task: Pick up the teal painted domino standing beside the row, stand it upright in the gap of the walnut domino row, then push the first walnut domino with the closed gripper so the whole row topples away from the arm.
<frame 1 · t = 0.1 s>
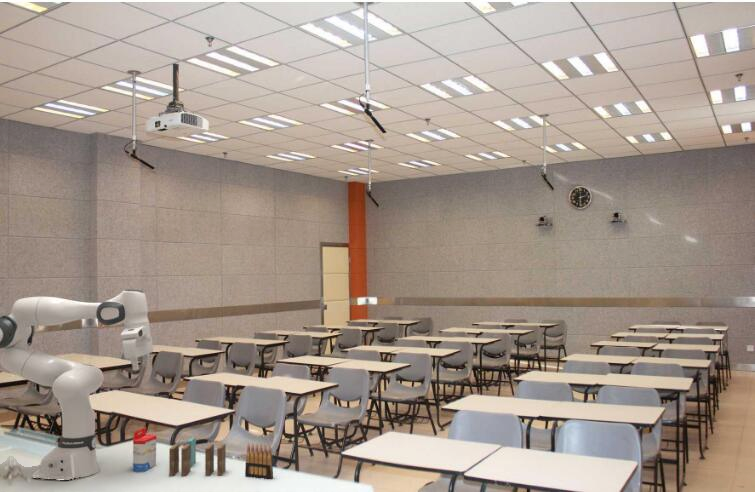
hand: (140, 368, 238), 39 cm above the table, tool pointing down, fingers open, 8 cm apart
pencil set: (259, 477, 229), on the table
ink box: (144, 468, 241), on the table
domino 2: (186, 473, 234), on the table
domino 5: (221, 473, 234), on the table
domino 1: (174, 473, 234), on the table
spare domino: (191, 465, 244), on the table
domino 4: (209, 473, 234), on the table
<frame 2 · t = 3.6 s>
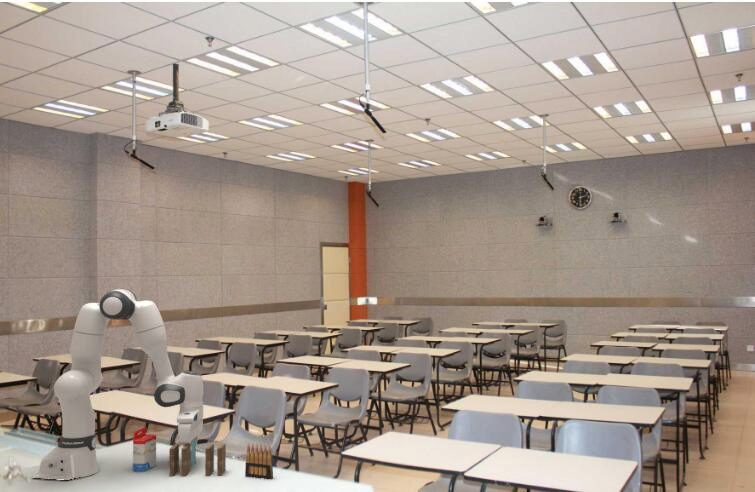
hand: (191, 449, 245), 6 cm above the table, tool pointing down, fingers closed on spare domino, 6 cm apart
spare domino: (191, 465, 244), on the table, touching gripper
everything else where it was.
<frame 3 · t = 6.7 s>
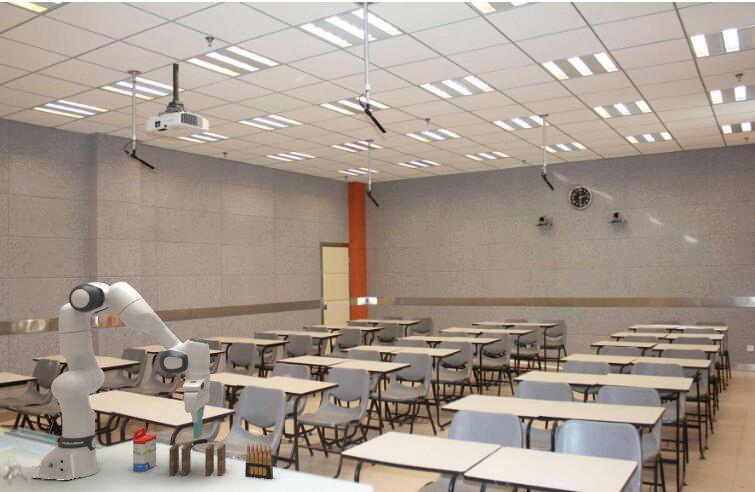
hand: (197, 419, 235), 20 cm above the table, tool pointing down, fingers closed on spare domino, 6 cm apart
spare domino: (198, 436, 235), point 14 cm above the table, touching gripper
everything else where it was.
when the fingers open (7 cm above the table, at t = 9.9 s): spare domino stays where it is, on the table.
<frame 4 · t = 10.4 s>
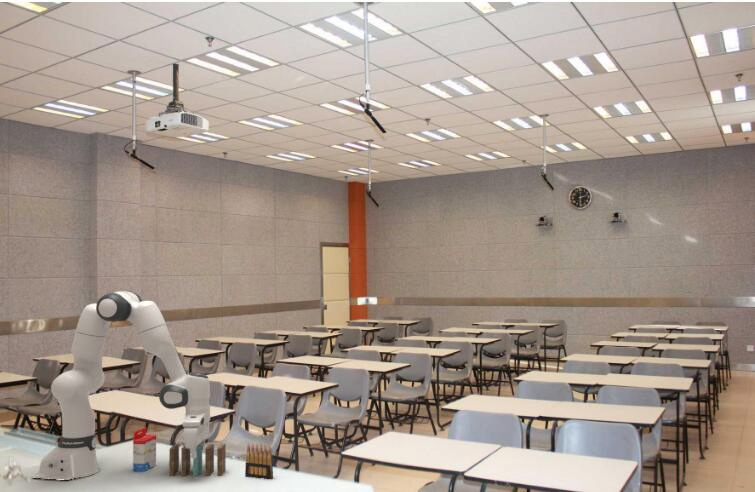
hand: (197, 454, 235), 7 cm above the table, tool pointing down, fingers open, 8 cm apart
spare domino: (197, 473, 234), on the table
everything else where it was.
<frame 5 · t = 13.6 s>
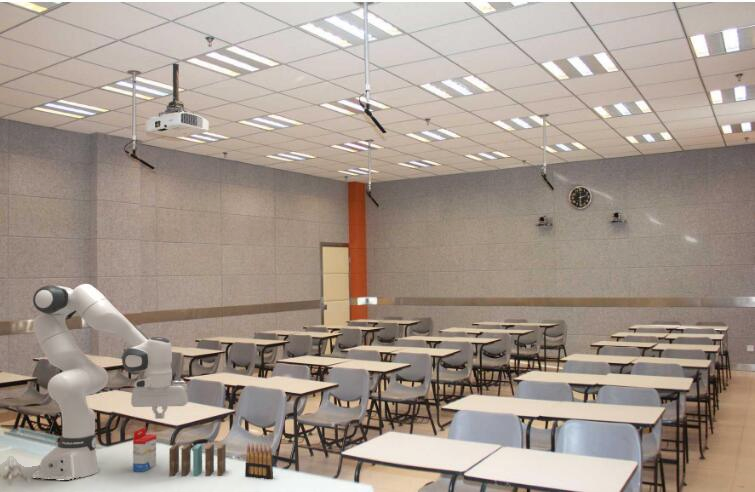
hand: (159, 418, 235), 20 cm above the table, tool pointing down, fingers closed
nothing on the table moved.
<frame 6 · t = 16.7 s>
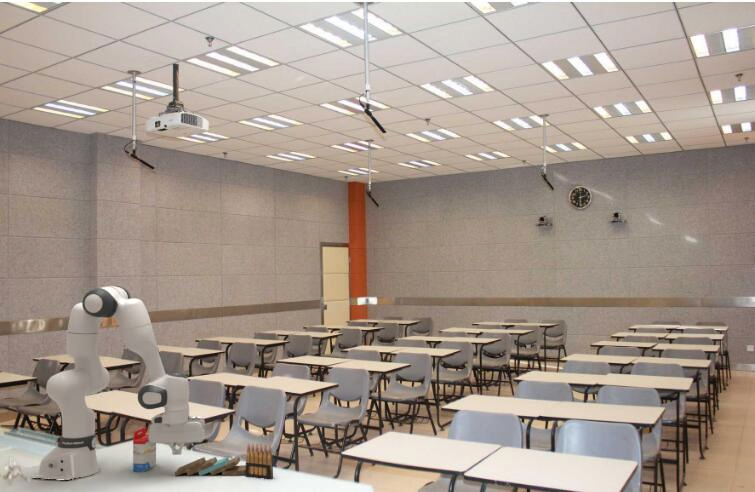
hand: (176, 454, 235), 7 cm above the table, tool pointing down, fingers closed
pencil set: (259, 477, 229), on the table, touching domino 5
domino 2: (189, 471, 234), point 1 cm above the table, tilted 68°, touching domino 1, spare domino
domino 5: (224, 471, 234), point 1 cm above the table, tilted 87°, touching domino 4, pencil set
domino 1: (178, 471, 234), point 1 cm above the table, tilted 68°, touching domino 2
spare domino: (201, 471, 234), point 1 cm above the table, tilted 68°, touching domino 2, domino 4
domino 4: (212, 471, 234), point 1 cm above the table, tilted 68°, touching domino 5, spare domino
everything else where it was.
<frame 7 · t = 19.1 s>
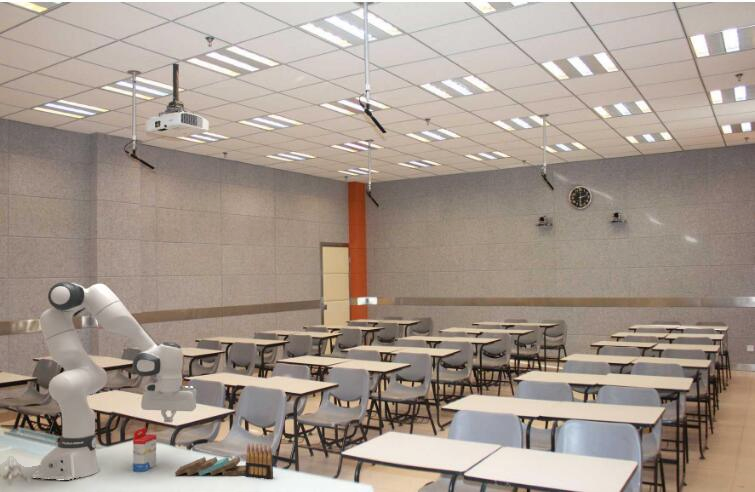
hand: (168, 422, 240), 18 cm above the table, tool pointing down, fingers closed
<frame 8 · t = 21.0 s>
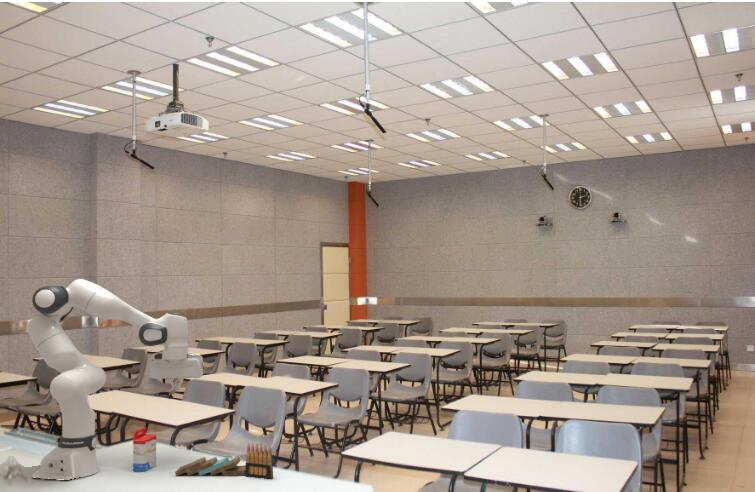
hand: (176, 389, 245), 29 cm above the table, tool pointing down, fingers closed
nothing on the table moved.
at the end: domino 5 tilted 87°; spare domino tilted 68°; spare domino 1.2 cm from the target spot, point 0.8 cm above the table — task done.
